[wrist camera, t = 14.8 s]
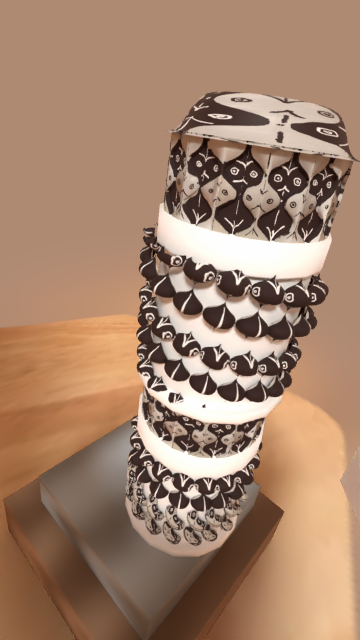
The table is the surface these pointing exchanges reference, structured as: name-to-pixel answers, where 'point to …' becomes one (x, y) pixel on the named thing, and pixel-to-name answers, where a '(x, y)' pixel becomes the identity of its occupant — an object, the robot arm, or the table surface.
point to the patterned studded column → (227, 305)
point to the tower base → (93, 598)
